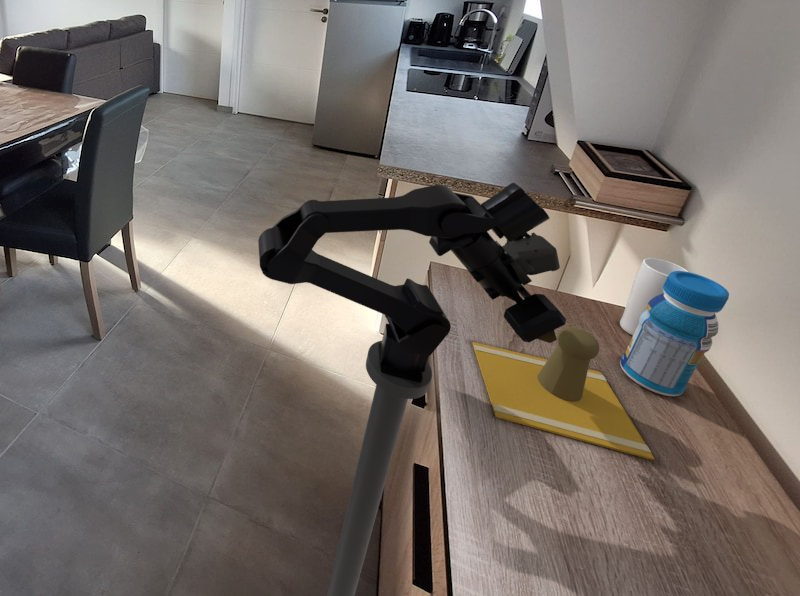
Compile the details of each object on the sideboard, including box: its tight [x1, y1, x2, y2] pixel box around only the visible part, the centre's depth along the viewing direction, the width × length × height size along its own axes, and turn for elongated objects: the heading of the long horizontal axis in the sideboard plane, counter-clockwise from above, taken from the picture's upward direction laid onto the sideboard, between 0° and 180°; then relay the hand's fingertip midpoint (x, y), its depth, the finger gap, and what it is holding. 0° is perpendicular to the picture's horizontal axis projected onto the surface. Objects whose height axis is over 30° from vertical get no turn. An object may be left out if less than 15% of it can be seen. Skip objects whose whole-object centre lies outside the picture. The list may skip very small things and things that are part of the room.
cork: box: [538, 326, 600, 402], centre depth 74 cm, size 6×6×11 cm
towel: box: [471, 341, 655, 461], centre depth 74 cm, size 20×16×1 cm
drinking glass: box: [619, 257, 690, 337], centre depth 86 cm, size 7×7×15 cm
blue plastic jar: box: [619, 271, 730, 397], centre depth 75 cm, size 8×8×20 cm
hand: (534, 318), depth 71 cm, fingers open, 9 cm apart
